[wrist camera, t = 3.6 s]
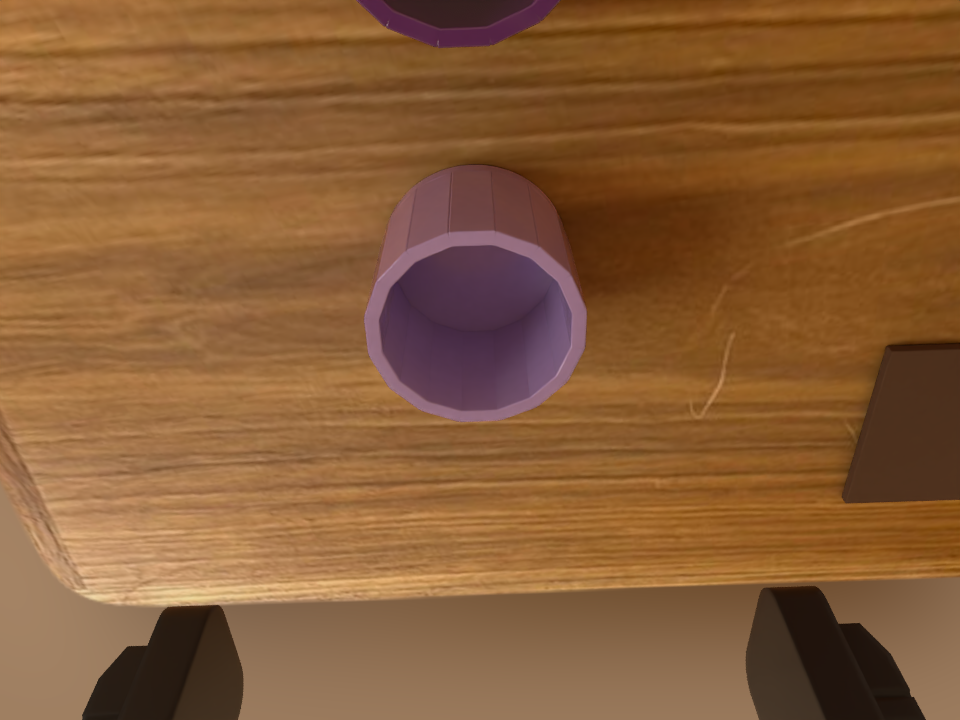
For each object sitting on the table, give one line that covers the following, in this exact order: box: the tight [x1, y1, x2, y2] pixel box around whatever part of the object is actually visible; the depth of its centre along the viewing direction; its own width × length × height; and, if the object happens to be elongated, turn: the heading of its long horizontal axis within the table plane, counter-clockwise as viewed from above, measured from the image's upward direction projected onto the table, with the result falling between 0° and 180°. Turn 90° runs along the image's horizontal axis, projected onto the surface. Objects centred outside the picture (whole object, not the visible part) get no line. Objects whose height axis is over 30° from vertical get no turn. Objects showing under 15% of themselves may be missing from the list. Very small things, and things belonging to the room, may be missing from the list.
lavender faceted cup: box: [364, 165, 587, 422], centre depth 22 cm, size 6×6×5 cm
